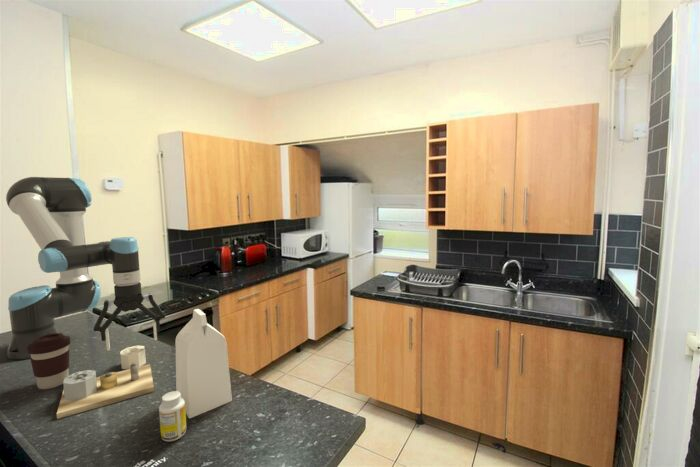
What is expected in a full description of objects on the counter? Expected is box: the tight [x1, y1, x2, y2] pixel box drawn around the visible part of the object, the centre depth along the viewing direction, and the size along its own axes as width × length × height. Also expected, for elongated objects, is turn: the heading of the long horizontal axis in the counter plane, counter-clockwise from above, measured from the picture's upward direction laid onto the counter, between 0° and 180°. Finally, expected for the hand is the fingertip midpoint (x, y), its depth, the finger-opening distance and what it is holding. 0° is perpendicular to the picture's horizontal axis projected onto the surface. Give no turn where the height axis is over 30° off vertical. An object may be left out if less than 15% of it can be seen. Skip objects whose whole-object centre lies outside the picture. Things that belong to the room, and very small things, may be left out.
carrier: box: [56, 363, 155, 420], centre depth 99 cm, size 16×22×7 cm
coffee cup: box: [27, 332, 71, 390], centre depth 103 cm, size 10×10×15 cm
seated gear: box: [62, 369, 97, 401], centre depth 96 cm, size 7×7×5 cm
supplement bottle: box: [158, 390, 187, 442], centre depth 81 cm, size 6×6×10 cm
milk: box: [175, 308, 233, 419], centre depth 94 cm, size 12×12×26 cm
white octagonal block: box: [120, 344, 147, 370], centre depth 115 cm, size 7×7×5 cm
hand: (132, 344), depth 114 cm, fingers open, 13 cm apart
